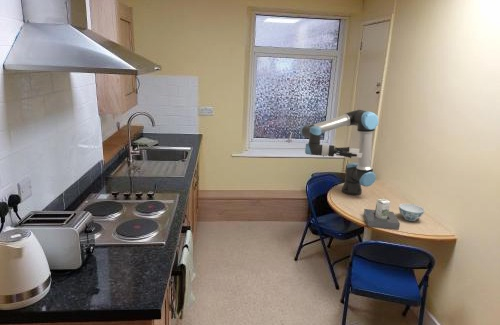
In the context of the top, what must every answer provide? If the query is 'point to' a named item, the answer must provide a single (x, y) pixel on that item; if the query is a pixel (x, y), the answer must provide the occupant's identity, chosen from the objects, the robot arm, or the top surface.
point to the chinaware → (411, 211)
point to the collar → (381, 220)
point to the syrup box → (382, 209)
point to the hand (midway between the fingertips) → (360, 153)
